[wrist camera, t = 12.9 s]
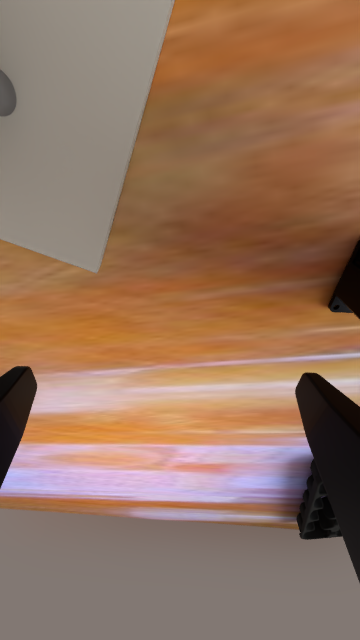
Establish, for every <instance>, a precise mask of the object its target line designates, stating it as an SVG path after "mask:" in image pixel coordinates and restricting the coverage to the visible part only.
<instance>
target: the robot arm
mask: <svg viewBox="0 0 360 640" xmlns="http://www.w3.org/2000/svg"><path fill="white" fill-rule="evenodd" d="M335 305H336V306H335ZM334 306H335V307H334ZM328 308H329V309H330V310H331V311H332V312H344V313H354V314H355V315H356V316H357V317H358V318H359V319H360V240H359V241H358V243H357V245H356V247H355V249H354V252H353V254H352V256H351V258H350V260H349V262H348V264H347V266H346V268H345V270H344V272H343V274H342V276H341V278H340V281H339V283H338V285H337V287H336V289H335V291H334V294H333V296H332V298H331V300H330V302H329V304H328ZM36 391H37V382H36V380H35V377H34V375H33V372H32V370H31V368H30V367H28V366H16V367H14V368H12V369H11V370H9V371H8V372H7V373H5V374H4V375H2V376H1V377H0V488H1V486H2V483H3V481H4V479H5V476H6V474H7V472H8V469H9V467H10V464H11V462H12V460H13V457H14V455H15V453H16V450H17V448H18V446H19V443H20V441H21V438H22V436H23V433H24V430H25V427H26V424H27V420H28V417H29V414H30V410H31V407H32V404H33V401H34V397H35V394H36ZM295 394H296V399H297V402H298V406H299V410H300V414H301V418H302V422H303V426H304V430H305V434H306V437H307V440H308V443H309V446H310V449H311V452H312V454H313V457H314V460H315V462H316V465H317V468H318V471H319V473H320V476H321V479H322V481H323V484H324V487H325V490H326V492H327V495H328V498H329V501H330V503H331V506H332V509H333V511H334V514H335V517H336V520H337V522H338V525H339V528H340V531H341V533H342V536H343V539H344V541H345V544H346V547H347V549H348V552H349V555H350V558H351V561H352V563H353V566H354V569H355V571H356V574H357V577H358V580H359V582H360V407H359V406H358V405H357V404H355V403H354V402H353V401H352V400H350V399H349V398H348V397H347V396H345V395H344V394H343V393H342V392H340V391H339V390H338V389H336V388H335V387H334V386H333V385H331V384H330V383H329V382H328V381H326V380H325V379H324V378H323V377H321V376H320V375H319V374H317V373H304V374H303V375H302V376H301V378H300V381H299V383H298V385H297V387H296V390H295Z"/></svg>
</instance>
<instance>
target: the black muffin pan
mask: <svg viewBox="0 0 360 640" xmlns="http://www.w3.org/2000/svg"><path fill="white" fill-rule="evenodd" d="M310 469H311V471H312V475H311V476H309V477H308V479H307V487H308V489H307V490H305V492H304V494H303V499H304V502H303V503H301V505H300V512H301V513H299V514H298V516H297V523H298V526H299V530H300V532H301V533H300V534H299V535H300V537H301V538H302V539H307V540H308V539H319V538H331V537H341V536H342V533H341V531H340V528H339V525H338V522H337V520H336V517H335V514H334V511H333V509H332V506H331V503H330V501H329V498H328V495H327V492H326V490H325V487H324V484H323V481H322V479H321V476H320V473H319V471H318V468H317V465H316V462H315V460H313V461H312V463H311V467H310ZM322 496H327V497H323V498H321V497H322Z"/></svg>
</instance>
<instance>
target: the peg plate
mask: <svg viewBox="0 0 360 640" xmlns="http://www.w3.org/2000/svg"><path fill="white" fill-rule="evenodd" d="M174 1H175V0H0V239H1V240H4V241H7V242H10V243H13V244H15V245H18V246H21V247H24V248H27V249H29V250H32V251H35V252H38V253H41V254H44V255H46V256H49V257H52V258H55V259H58V260H60V261H63V262H66V263H69V264H72V265H75V266H77V267H80V268H83V269H86V270H89V271H91V272H94V273H97V272H98V270H99V268H100V266H101V263H102V259H103V255H104V252H105V248H106V245H107V241H108V238H109V234H110V230H111V227H112V223H113V220H114V216H115V213H116V209H117V205H118V202H119V198H120V195H121V191H122V187H123V184H124V180H125V177H126V173H127V170H128V166H129V162H130V159H131V155H132V152H133V148H134V145H135V141H136V137H137V134H138V130H139V127H140V123H141V120H142V116H143V112H144V109H145V105H146V102H147V98H148V94H149V91H150V87H151V84H152V80H153V77H154V73H155V69H156V66H157V62H158V59H159V55H160V52H161V48H162V44H163V41H164V37H165V34H166V30H167V26H168V23H169V19H170V16H171V12H172V9H173V5H174Z"/></svg>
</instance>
